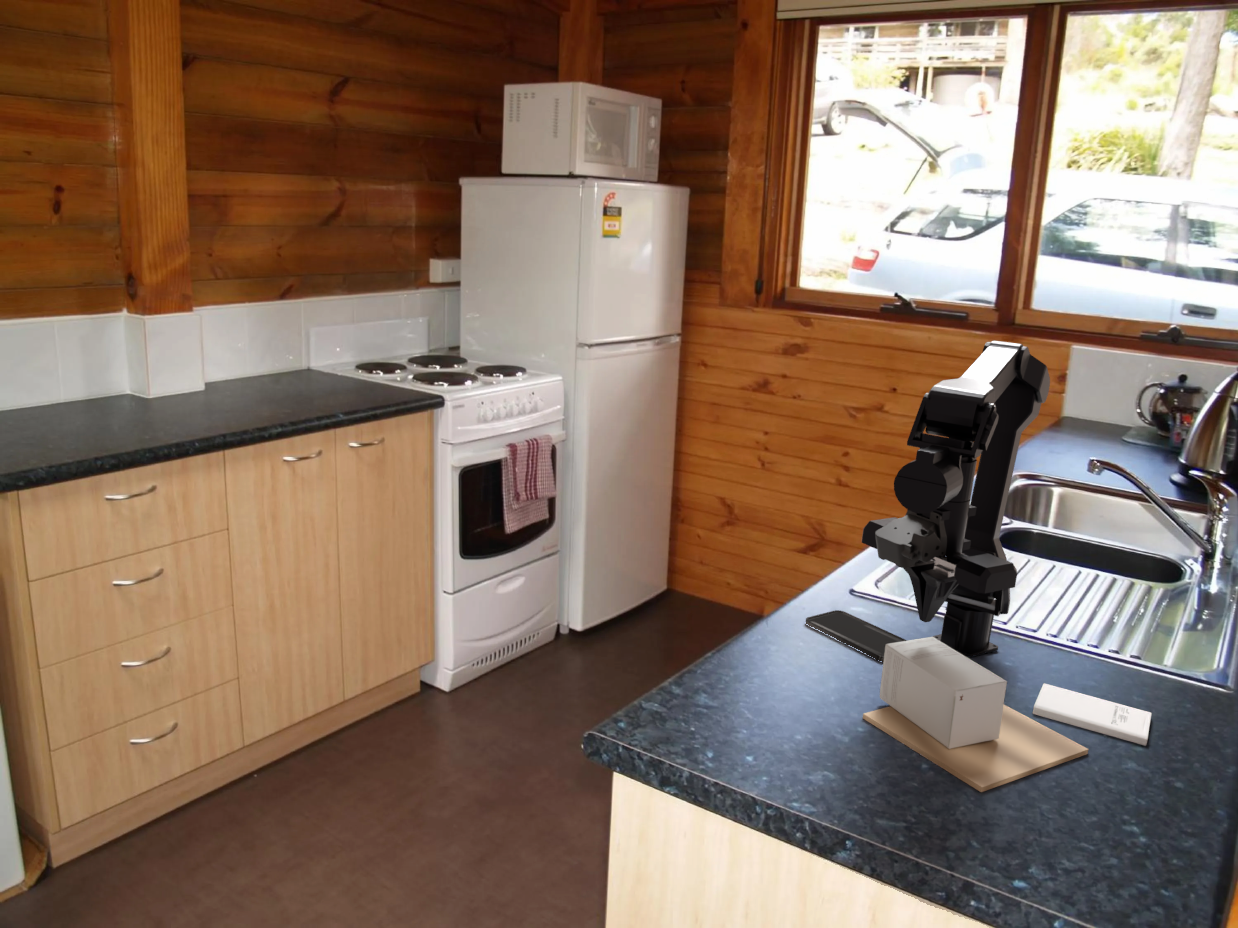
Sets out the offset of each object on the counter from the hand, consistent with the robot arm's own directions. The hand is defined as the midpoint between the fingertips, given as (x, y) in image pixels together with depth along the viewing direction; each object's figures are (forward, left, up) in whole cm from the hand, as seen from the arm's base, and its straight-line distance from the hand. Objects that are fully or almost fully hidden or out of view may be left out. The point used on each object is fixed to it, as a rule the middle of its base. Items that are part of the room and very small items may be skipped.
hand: (925, 620), depth 121 cm
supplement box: (+1, -1, -6) cm, 6 cm away
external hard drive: (-18, +12, -11) cm, 24 cm away
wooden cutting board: (0, +9, -10) cm, 14 cm away
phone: (-8, -17, -11) cm, 22 cm away
